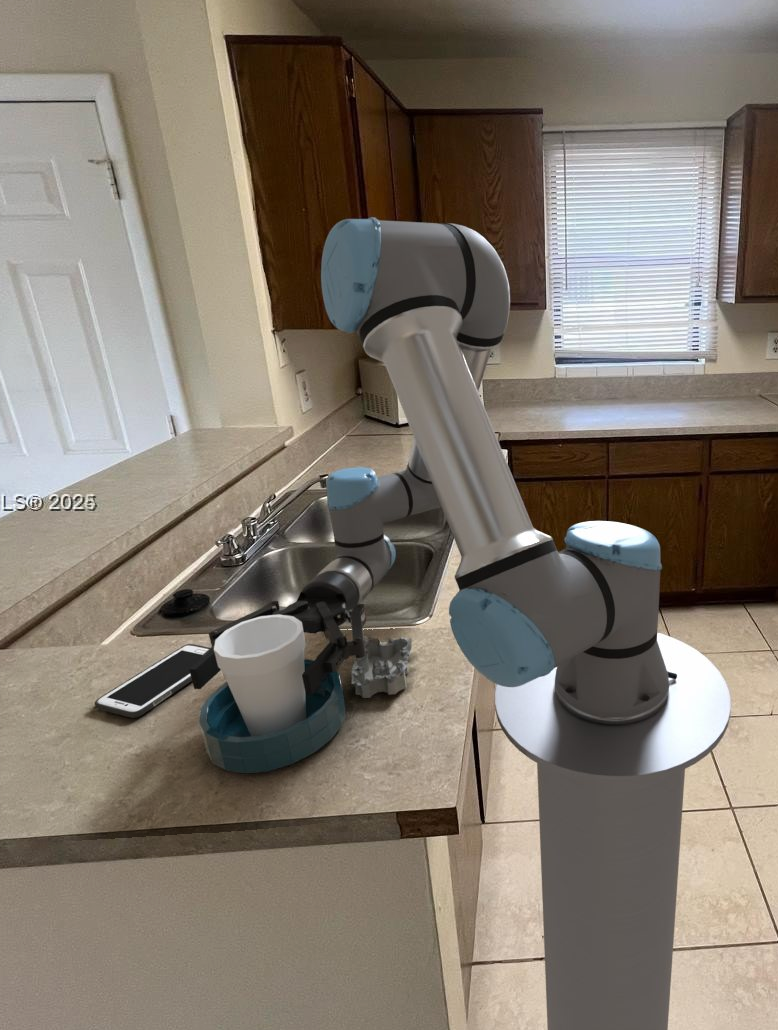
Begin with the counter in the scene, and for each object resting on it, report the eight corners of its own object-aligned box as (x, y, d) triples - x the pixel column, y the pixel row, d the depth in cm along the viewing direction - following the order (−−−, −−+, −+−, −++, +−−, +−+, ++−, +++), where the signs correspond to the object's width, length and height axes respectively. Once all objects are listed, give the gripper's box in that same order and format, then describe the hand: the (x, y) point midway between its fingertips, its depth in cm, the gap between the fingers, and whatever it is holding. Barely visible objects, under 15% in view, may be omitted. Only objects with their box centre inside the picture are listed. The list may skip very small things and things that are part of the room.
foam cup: (225, 757, 71) (200, 663, 66) (248, 706, 79) (228, 619, 75) (312, 745, 73) (293, 652, 68) (325, 696, 81) (310, 611, 77)
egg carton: (365, 655, 91) (361, 632, 90) (416, 652, 92) (413, 628, 91) (348, 701, 81) (344, 675, 80) (406, 696, 82) (402, 670, 81)
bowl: (368, 696, 82) (363, 665, 80) (299, 785, 68) (291, 749, 66) (264, 684, 85) (257, 654, 83) (176, 767, 70) (166, 732, 69)
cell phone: (229, 656, 91) (228, 650, 91) (136, 720, 78) (134, 714, 77) (189, 648, 93) (188, 642, 93) (92, 708, 80) (90, 702, 80)
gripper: (420, 618, 90) (359, 714, 70) (260, 612, 92) (157, 703, 72) (415, 573, 87) (350, 658, 67) (250, 567, 90) (140, 649, 70)
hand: (250, 682), depth 70 cm, fingers open, 13 cm apart
